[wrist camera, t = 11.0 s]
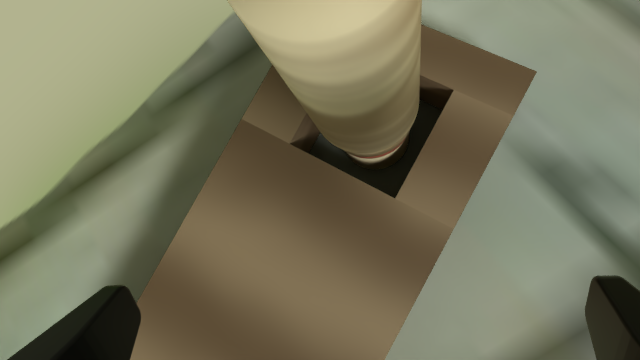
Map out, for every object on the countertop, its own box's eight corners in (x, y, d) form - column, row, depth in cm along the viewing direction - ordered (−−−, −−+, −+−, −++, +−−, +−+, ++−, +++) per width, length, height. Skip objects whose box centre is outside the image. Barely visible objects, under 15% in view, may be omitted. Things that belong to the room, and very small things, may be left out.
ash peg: (409, 185, 22) (399, 52, 8) (326, 169, 23) (193, 27, 9) (425, 102, 22) (441, -150, 9) (343, 90, 23) (242, -154, 10)
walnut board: (260, 588, 20) (234, 643, 17) (87, 447, 23) (39, 473, 20) (520, 97, 21) (537, 71, 19) (330, 16, 24) (318, -18, 21)
